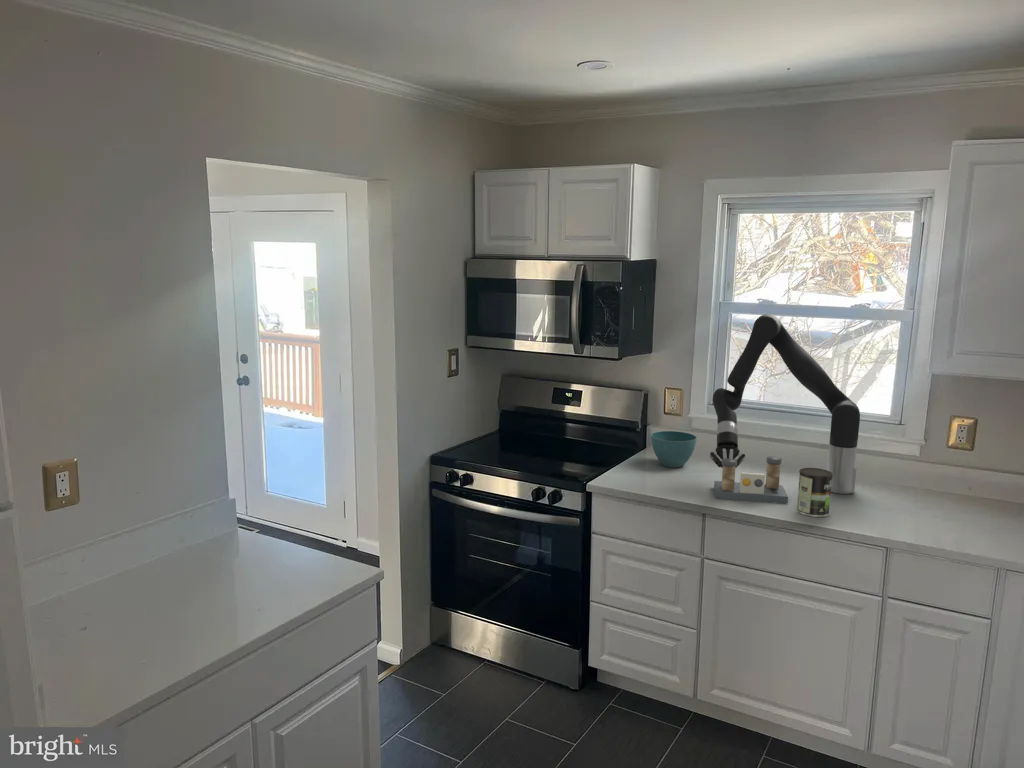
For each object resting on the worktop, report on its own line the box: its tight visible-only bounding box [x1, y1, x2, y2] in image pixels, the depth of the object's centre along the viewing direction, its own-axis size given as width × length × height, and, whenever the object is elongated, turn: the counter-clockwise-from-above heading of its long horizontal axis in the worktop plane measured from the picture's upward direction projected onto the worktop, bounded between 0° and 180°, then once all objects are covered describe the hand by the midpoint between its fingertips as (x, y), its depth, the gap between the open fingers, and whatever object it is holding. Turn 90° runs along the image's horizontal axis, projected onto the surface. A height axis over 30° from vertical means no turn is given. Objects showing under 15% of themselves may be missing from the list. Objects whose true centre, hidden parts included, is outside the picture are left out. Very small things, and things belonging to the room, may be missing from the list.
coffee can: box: [796, 467, 833, 518], centre depth 247 cm, size 10×10×14 cm
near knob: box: [765, 455, 783, 489], centre depth 265 cm, size 5×5×11 cm
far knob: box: [721, 458, 738, 491], centre depth 262 cm, size 5×5×11 cm
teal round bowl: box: [650, 430, 698, 468], centre depth 302 cm, size 18×18×12 cm
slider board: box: [713, 471, 789, 504], centre depth 264 cm, size 24×13×10 cm, turn 78°
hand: (727, 477), depth 265 cm, fingers closed
